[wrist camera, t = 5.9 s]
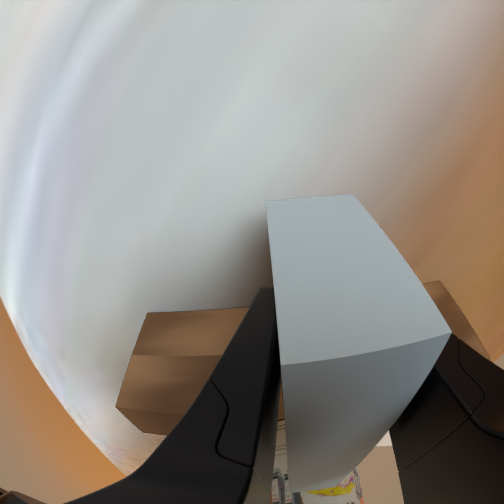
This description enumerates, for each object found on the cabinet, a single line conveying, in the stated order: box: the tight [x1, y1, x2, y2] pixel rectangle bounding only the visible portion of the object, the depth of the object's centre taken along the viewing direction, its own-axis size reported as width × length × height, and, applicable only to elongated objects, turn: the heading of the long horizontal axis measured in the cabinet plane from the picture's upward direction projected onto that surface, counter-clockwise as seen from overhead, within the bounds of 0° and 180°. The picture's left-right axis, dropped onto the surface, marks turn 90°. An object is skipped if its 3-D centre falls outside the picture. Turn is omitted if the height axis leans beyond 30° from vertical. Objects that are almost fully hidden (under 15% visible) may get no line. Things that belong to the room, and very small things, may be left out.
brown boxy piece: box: [115, 281, 490, 435], centre depth 10 cm, size 14×2×5 cm, turn 97°
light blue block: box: [265, 194, 452, 493], centre depth 9 cm, size 2×13×5 cm, turn 7°
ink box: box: [270, 420, 363, 504], centre depth 15 cm, size 9×9×12 cm
